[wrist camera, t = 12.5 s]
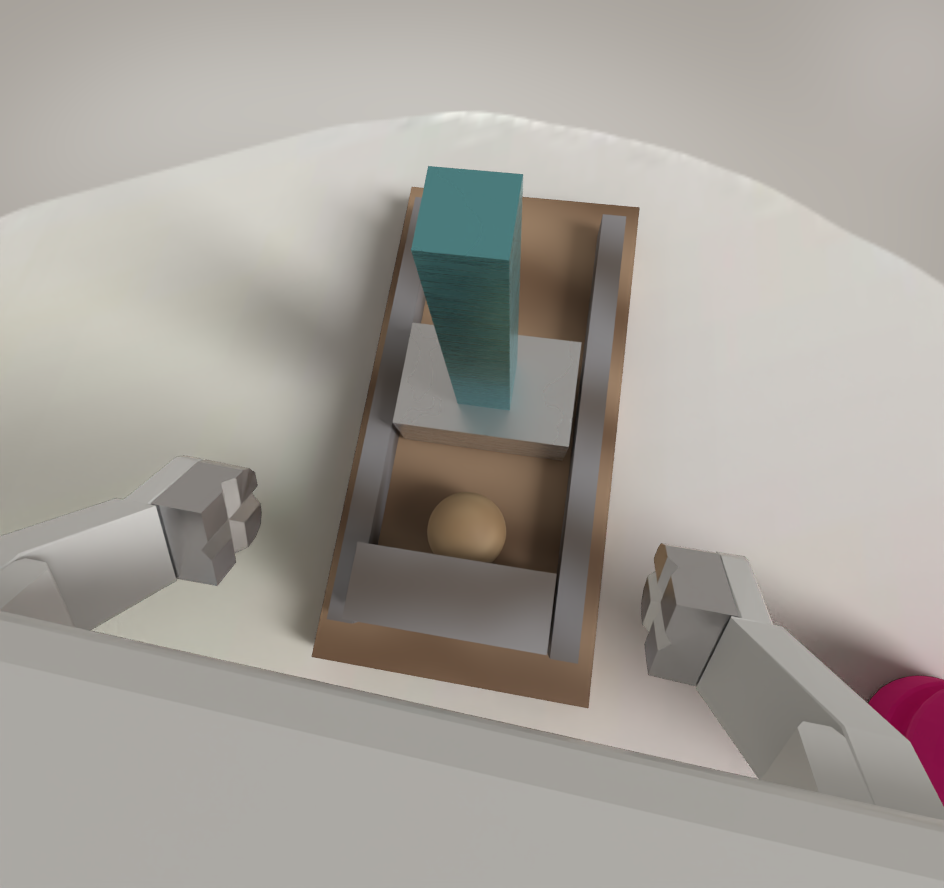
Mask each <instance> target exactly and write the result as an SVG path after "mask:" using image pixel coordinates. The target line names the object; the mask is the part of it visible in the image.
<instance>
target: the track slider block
mask: <svg viewBox="0 0 944 888" xmlns="http://www.w3.org/2000/svg"><path fill="white" fill-rule="evenodd" d="M522 194H523V174H513V173H502V172H490V171H478V170H467V169H455V168H444V167H432V166H428V170H427V175H426V180H425V185H424V190H423V194H422V199H421V204H420V209H419V214H418V219H417V223H416V228H415V233H414V238H413V243H412V248H411V252H412V255H413V258H414V262H415V265H416V268H417V272H418V275H419V278H420V281H421V285H422V288H423V291H424V295H425V298H426V301H427V305H428V308H429V311H430V314H431V318H432V321H433V324H434V325H429V324H420V323H412V328H411V333H410V338H409V343H408V348H407V353H406V358H405V363H404V368H403V373H402V378H401V383H400V388H399V393H398V398H397V403H396V408H395V413H394V418H393V424H394V425H395V427H396V428H397V429H398V431H399V432H400V433H401V434H402V436H403V437H404V438H405V439H409V440H416V441H423V442H430V443H438V444H445V445H452V446H459V447H466V448H473V449H480V450H488V451H495V452H502V453H509V454H516V455H523V456H530V457H538V458H545V459H552V460H559V461H563V459H564V457H565V454H566V452H567V450H568V448H569V441H570V433H571V425H572V417H573V409H574V400H575V392H576V384H577V376H578V368H579V359H580V351H581V343H582V342H574V341H565V340H557V339H548V338H540V337H531V336H523V335H518V322H519V290H520V258H521V226H522Z"/></svg>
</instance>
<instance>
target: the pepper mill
mask: <svg viewBox="0 0 944 888" xmlns="http://www.w3.org/2000/svg"><path fill="white" fill-rule="evenodd" d="M868 704H869V705H870V706H871V707H872V708H873V709H874V710H875V711H876V712H878V713H879V714H880V715H881V716H882V717H883V718H884V719H885V720H886V721H888V722H889V723H890V724H891V725H892V726H893V727H894V728H895V729H896V730H898V731H899V732H900V733H901V734H902V735H903V736H904V737H905V738H906V739H908V740H909V741H910V743H911V745H912V746H913V748H914V750H915V752H916V754H917V756H918V758H919V760H920V762H921V764H922V766H923V768H924V770H925V772H926V773H927V775H928V777H929V779H930V781H931V783H932V785H933V787H934V789H935V791H936V793H937V795H938V797H939V799H940V800H941V802H942V804H943V806H944V680H943V679H939V678H934V677H928V676H909V677H904V678H901V679H898V680H894V681H892V682H890V683H889V684H887V685H885V686H884V687H882V688H881V689H880V690H879V691H878V692H877V693H876V694H875V695H874V696H873V697H872V698H871V699H870V701H869V703H868Z"/></svg>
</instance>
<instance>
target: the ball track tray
mask: <svg viewBox="0 0 944 888" xmlns="http://www.w3.org/2000/svg"><path fill="white" fill-rule="evenodd" d="M423 190H424V188H419V187H412V188H411V193H410V197H409V202H408V207H407V212H406V216H405V221H404V226H403V230H402V235H401V240H400V244H399V249H398V254H397V258H396V263H395V268H394V272H393V277H392V282H391V287H390V291H389V296H388V301H387V305H386V310H385V315H384V319H383V324H382V329H381V333H380V338H379V343H378V348H377V352H376V357H375V362H374V366H373V371H372V376H371V380H370V385H369V390H368V394H367V399H366V404H365V409H364V413H363V418H362V423H361V427H360V432H359V437H358V441H357V446H356V451H355V455H354V460H353V465H352V470H351V474H350V479H349V484H348V488H347V493H346V498H345V502H344V507H343V512H342V516H341V521H340V526H339V531H338V535H337V540H336V545H335V549H334V554H333V559H332V563H331V568H330V573H329V577H328V582H327V587H326V592H325V596H324V601H323V606H322V610H321V615H320V620H319V624H318V629H317V634H316V638H315V643H314V648H313V653H312V657H315V658H321V659H326V660H332V661H337V662H342V663H348V664H353V665H358V666H364V667H369V668H375V669H380V670H385V671H391V672H396V673H401V674H407V675H412V676H418V677H423V678H428V679H434V680H439V681H444V682H450V683H455V684H461V685H466V686H471V687H477V688H482V689H488V690H493V691H498V692H504V693H509V694H514V695H520V696H525V697H531V698H536V699H541V700H547V701H552V702H557V703H563V704H568V705H574V706H579V707H584V708H588V706H589V696H590V686H591V677H592V667H593V657H594V647H595V637H596V628H597V618H598V608H599V598H600V589H601V579H602V569H603V559H604V549H605V540H606V530H607V520H608V510H609V500H610V491H611V481H612V471H613V461H614V452H615V442H616V432H617V422H618V412H619V403H620V393H621V383H622V373H623V363H624V354H625V344H626V334H627V324H628V315H629V305H630V295H631V285H632V275H633V266H634V256H635V246H636V236H637V226H638V217H639V207H628V206H617V205H606V204H595V203H584V202H573V201H562V200H551V199H540V198H529V197H522V226H521V258H520V290H519V322H518V335H523V336H531V337H540V338H548V339H557V340H565V341H574V342H582V343H581V351H580V359H579V368H578V376H577V384H576V392H575V400H574V409H573V417H572V425H571V433H570V441H569V448H568V450H567V452H566V454H565V457H564V459H563V461H559V460H552V459H545V458H538V457H530V456H523V455H516V454H509V453H502V452H495V451H488V450H480V449H473V448H466V447H459V446H452V445H445V444H438V443H430V442H423V441H416V440H409V439H405V438H404V437H403V436H402V434H401V433H400V432H399V431H398V429H397V428H396V427H395V425H394V424H393V418H394V413H395V408H396V403H397V398H398V393H399V388H400V383H401V378H402V373H403V368H404V363H405V358H406V353H407V348H408V343H409V338H410V333H411V328H412V323H420V324H429V325H434V324H433V321H432V318H431V314H430V311H429V308H428V305H427V301H426V298H425V295H424V291H423V288H422V285H421V281H420V278H419V275H418V272H417V268H416V265H415V262H414V258H413V255H412V252H411V248H412V243H413V238H414V233H415V228H416V223H417V219H418V214H419V209H420V204H421V199H422V194H423Z"/></svg>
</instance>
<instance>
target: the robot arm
mask: <svg viewBox="0 0 944 888" xmlns="http://www.w3.org/2000/svg"><path fill="white" fill-rule="evenodd" d="M257 486H258V485H257V480H256V475H255V472H254V471H252V470H251V469H250V468H245V467H240V466H235V465H231V464H226V463H221V462H216V461H211V460H204V459H200V458H195V457H190V456H184V455H183V456H178V457H175V458H174V459H173V460H171V461H170V462H169V463H168V464H166V465H165V466H164V467H163V468H161V469H160V470H159V471H158V472H157V473H155V474H154V475H153V476H152V477H150V478H149V479H148V480H147V481H146V482H144V483H143V484H142V485H141V486H139V487H138V488H137V489H136V490H134V491H133V492H132V493H131V494H130V495H128V496H127V497H126V498H125V499H118V498H115V499H112V500H109V501H106V502H103V503H100V504H97V505H94V506H91V507H88V508H85V509H82V510H78V511H75V512H72V513H69V514H66V515H63V516H60V517H57V518H54V519H51V520H48V521H45V522H42V523H39V524H36V525H33V526H30V527H27V528H24V529H21V530H17V531H14V532H11V533H8V534H5V535H2V536H0V888H944V806H943V804H942V802H941V800H940V799H939V797H938V795H937V793H936V791H935V789H934V787H933V785H932V783H931V781H930V779H929V777H928V775H927V773H926V772H925V770H924V768H923V766H922V764H921V762H920V760H919V758H918V756H917V754H916V752H915V750H914V748H913V746H912V745H911V743H910V741H909V740H908V739H906V738H905V737H904V736H903V735H902V734H901V733H900V732H899V731H898V730H896V729H895V728H894V727H893V726H892V725H891V724H890V723H889V722H888V721H886V720H885V719H884V718H883V717H882V716H881V715H880V714H879V713H878V712H876V711H875V710H874V709H873V708H872V707H871V706H870V705H869V704H868V703H866V702H865V701H864V700H863V699H862V698H861V697H860V696H859V695H858V694H856V693H855V692H854V691H853V690H852V689H851V688H850V687H849V686H848V685H847V684H845V683H844V682H843V681H842V680H841V679H840V678H839V677H838V676H837V675H835V674H834V673H833V672H832V671H831V670H830V669H829V668H828V667H827V666H825V665H824V664H823V663H822V662H821V661H820V660H819V659H818V658H817V657H815V656H814V655H813V654H812V653H811V652H810V651H809V650H808V649H807V648H805V647H804V646H803V645H802V644H801V643H800V642H799V641H798V640H797V639H795V638H794V637H793V636H792V635H791V634H790V633H789V632H788V631H787V630H785V629H784V628H783V627H782V626H779V625H774V624H773V623H772V620H771V618H770V615H769V612H768V610H767V607H766V604H765V602H764V599H763V597H762V594H761V591H760V589H759V586H758V583H757V581H756V578H755V575H754V573H753V570H752V568H751V565H750V562H749V560H748V559H747V558H746V557H745V556H739V555H732V554H726V553H720V552H716V553H714V552H709V551H703V550H698V549H692V548H686V547H681V546H675V545H669V544H664V543H661V544H660V546H659V547H658V549H657V552H656V554H655V557H654V563H655V570H656V571H655V572H653V573H652V574H650V575H649V576H648V577H647V580H646V583H645V586H644V590H643V596H642V603H641V615H642V625H643V626H644V627H645V629H646V630H647V631H648V632H649V634H648V636H647V639H646V642H645V652H646V661H647V669H648V675H650V676H655V677H659V678H663V679H668V680H672V681H676V682H680V683H685V684H689V685H693V686H697V687H696V689H697V691H698V692H699V694H700V695H701V697H702V698H703V699H704V701H705V702H706V704H707V705H708V707H709V708H710V709H711V711H712V712H713V714H714V715H715V717H716V718H717V720H718V721H719V722H720V724H721V725H722V727H723V728H724V730H725V731H726V732H727V734H728V735H729V737H730V738H731V740H732V741H733V743H734V744H735V745H736V747H737V748H738V750H739V751H740V753H741V754H742V755H743V757H744V758H745V760H746V761H747V763H748V764H749V766H750V767H751V768H752V770H753V771H754V773H755V774H756V776H757V777H758V778H759V779H756V778H751V777H747V776H742V775H738V774H733V773H729V772H724V771H720V770H715V769H711V768H706V767H702V766H697V765H693V764H688V763H684V762H679V761H675V760H670V759H666V758H661V757H657V756H652V755H648V754H643V753H639V752H634V751H630V750H625V749H621V748H616V747H612V746H607V745H603V744H598V743H594V742H589V741H585V740H580V739H576V738H571V737H567V736H562V735H558V734H553V733H549V732H544V731H540V730H536V729H531V728H527V727H522V726H518V725H513V724H509V723H504V722H500V721H495V720H491V719H486V718H482V717H477V716H473V715H468V714H464V713H459V712H455V711H450V710H446V709H441V708H437V707H432V706H428V705H423V704H419V703H414V702H410V701H405V700H401V699H396V698H392V697H387V696H383V695H378V694H374V693H369V692H365V691H360V690H356V689H351V688H347V687H342V686H338V685H333V684H329V683H324V682H320V681H315V680H311V679H306V678H302V677H297V676H293V675H288V674H284V673H279V672H275V671H270V670H266V669H261V668H257V667H252V666H248V665H243V664H239V663H234V662H230V661H225V660H221V659H216V658H212V657H207V656H203V655H198V654H194V653H189V652H185V651H180V650H176V649H171V648H167V647H162V646H158V645H153V644H149V643H144V642H140V641H135V640H131V639H126V638H122V637H117V636H113V635H108V634H104V633H99V632H95V631H90V630H92V629H94V628H95V627H97V626H99V625H101V624H102V623H104V622H106V621H108V620H109V619H111V618H113V617H115V616H116V615H118V614H120V613H122V612H123V611H125V610H127V609H128V608H130V607H132V606H134V605H135V604H137V603H139V602H141V601H142V600H144V599H146V598H148V597H149V596H151V595H153V594H155V593H156V592H158V591H160V590H161V589H163V588H165V587H167V586H168V585H170V584H172V583H174V582H175V581H176V579H182V580H187V581H193V582H199V583H204V584H210V585H215V586H218V584H219V583H220V582H221V581H222V579H223V578H224V577H225V576H226V574H227V573H228V572H229V571H230V569H231V568H232V567H233V566H234V564H235V563H236V557H235V553H237V552H239V551H241V550H243V549H245V548H247V547H249V545H250V544H251V543H252V541H253V540H254V539H255V537H256V535H257V532H258V530H259V527H260V524H261V514H262V512H261V504H260V502H259V501H258V500H257V499H256V497H255V496H254V495H253V494H252V492H253V491H254V490H255V489H256V487H257Z"/></svg>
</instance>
